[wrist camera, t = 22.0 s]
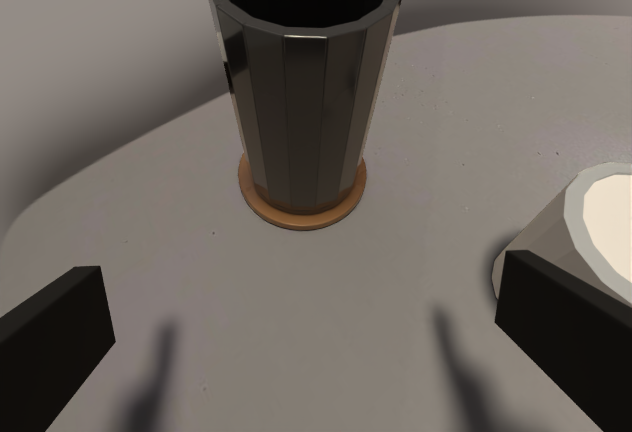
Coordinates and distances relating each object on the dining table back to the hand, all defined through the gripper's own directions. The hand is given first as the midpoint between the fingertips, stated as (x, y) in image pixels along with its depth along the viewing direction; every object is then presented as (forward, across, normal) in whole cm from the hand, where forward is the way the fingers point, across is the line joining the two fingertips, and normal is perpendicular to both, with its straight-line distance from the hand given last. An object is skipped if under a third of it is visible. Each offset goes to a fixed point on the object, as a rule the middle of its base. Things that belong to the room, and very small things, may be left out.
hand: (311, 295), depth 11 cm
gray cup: (+11, 0, +2) cm, 11 cm away
